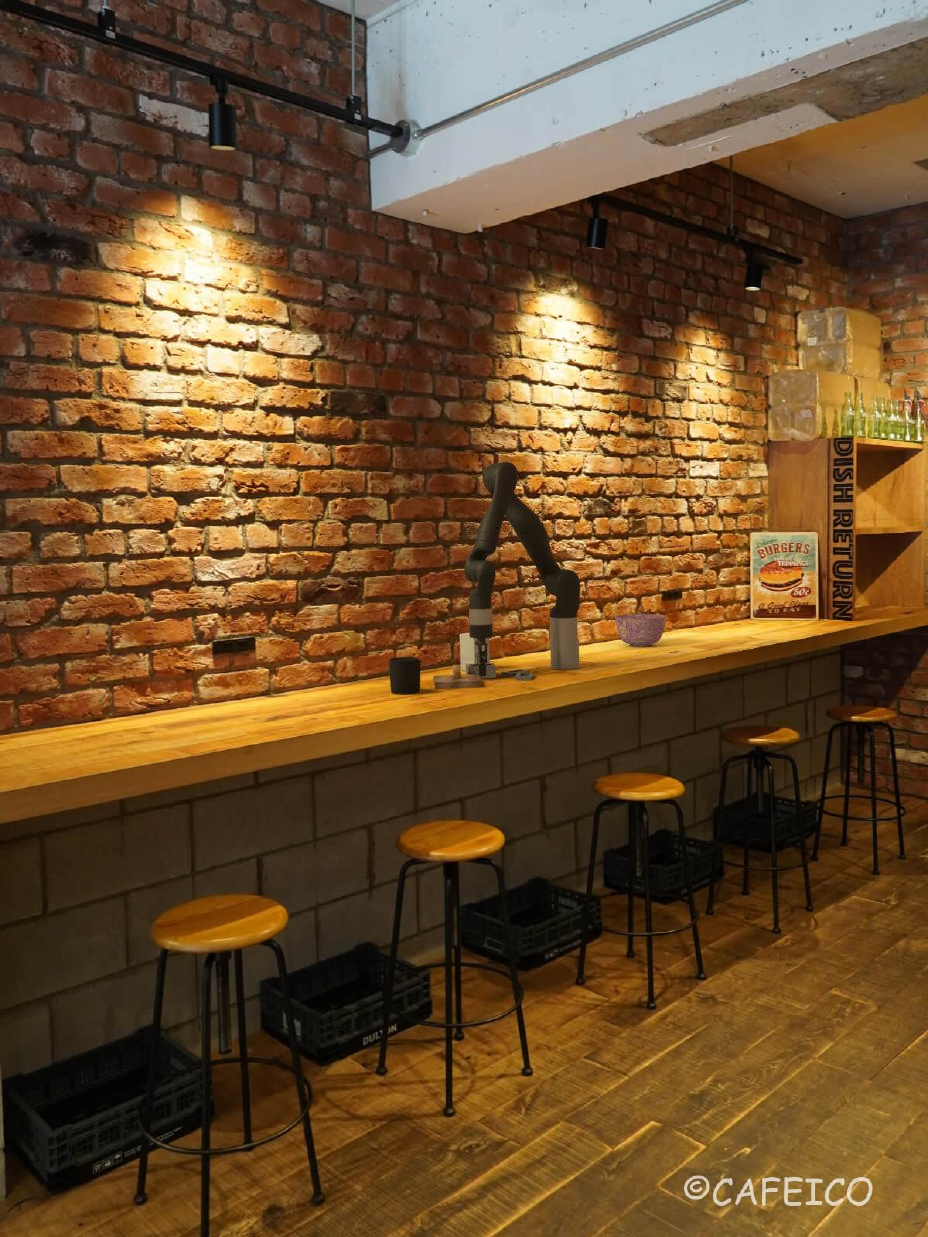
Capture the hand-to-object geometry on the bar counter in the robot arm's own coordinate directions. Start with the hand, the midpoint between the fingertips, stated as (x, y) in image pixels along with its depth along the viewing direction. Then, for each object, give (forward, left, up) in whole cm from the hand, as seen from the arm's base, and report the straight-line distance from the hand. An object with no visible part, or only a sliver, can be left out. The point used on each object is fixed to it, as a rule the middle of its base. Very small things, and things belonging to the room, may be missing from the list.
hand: (481, 674), depth 335 cm
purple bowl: (-68, -69, -1) cm, 97 cm away
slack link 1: (-11, -3, -1) cm, 12 cm away
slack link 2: (-13, +5, -1) cm, 14 cm away
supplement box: (+1, -17, -1) cm, 17 cm away
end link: (0, 0, -1) cm, 1 cm away
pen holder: (+25, +24, -1) cm, 34 cm away
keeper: (+9, +13, -1) cm, 16 cm away
